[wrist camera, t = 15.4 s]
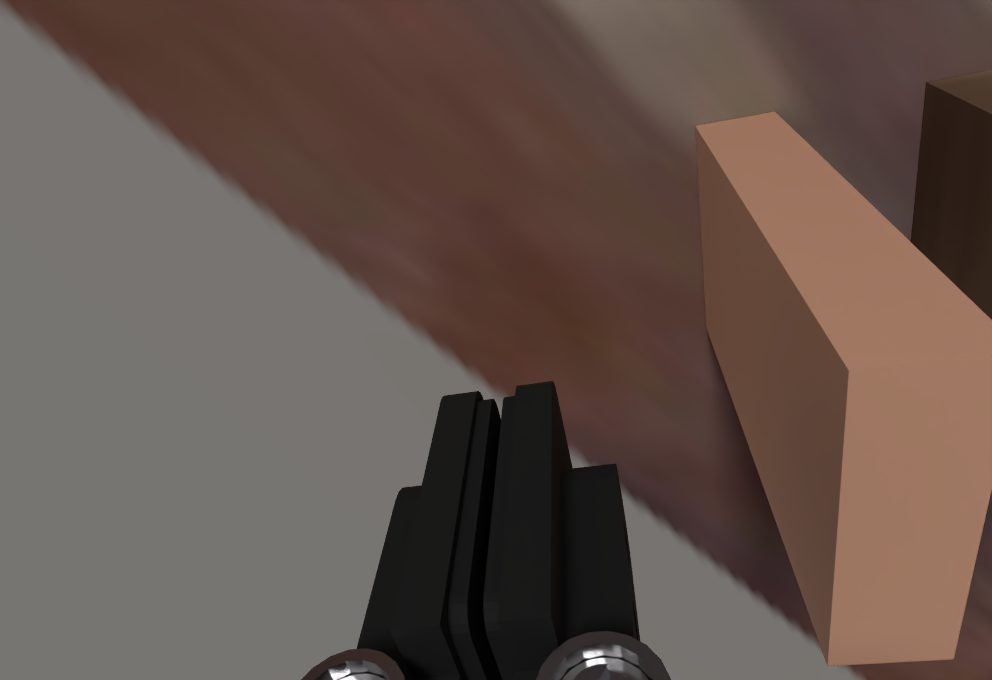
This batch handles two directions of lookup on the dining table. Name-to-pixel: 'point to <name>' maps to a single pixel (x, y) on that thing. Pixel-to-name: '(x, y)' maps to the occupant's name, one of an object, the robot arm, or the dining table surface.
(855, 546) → the domino
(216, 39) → the dining table surface
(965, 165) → the domino
